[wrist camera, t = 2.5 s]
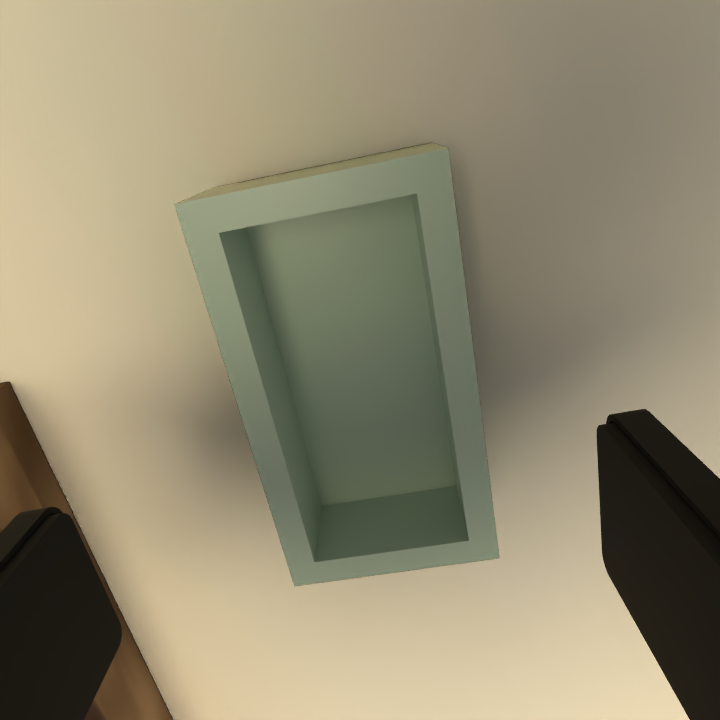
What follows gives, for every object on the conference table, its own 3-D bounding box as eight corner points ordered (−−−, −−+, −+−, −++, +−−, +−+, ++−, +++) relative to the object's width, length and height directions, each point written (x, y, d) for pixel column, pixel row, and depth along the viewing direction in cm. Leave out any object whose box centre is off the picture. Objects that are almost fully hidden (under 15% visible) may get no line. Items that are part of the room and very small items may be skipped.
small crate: (213, 187, 14) (174, 204, 11) (432, 142, 13) (448, 148, 11) (306, 513, 18) (294, 586, 15) (478, 487, 17) (499, 558, 14)
